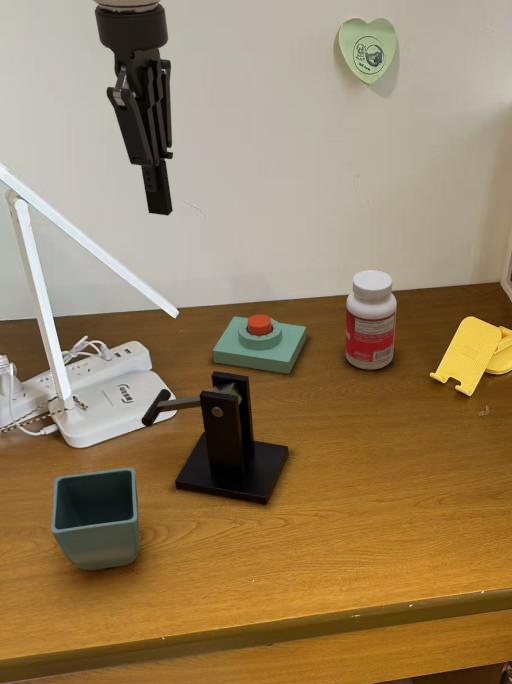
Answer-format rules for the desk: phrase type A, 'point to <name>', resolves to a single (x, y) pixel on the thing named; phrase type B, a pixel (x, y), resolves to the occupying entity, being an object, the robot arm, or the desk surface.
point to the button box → (260, 346)
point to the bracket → (231, 448)
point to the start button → (259, 325)
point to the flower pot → (97, 518)
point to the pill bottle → (370, 320)
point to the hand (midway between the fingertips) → (160, 211)
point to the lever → (182, 402)
